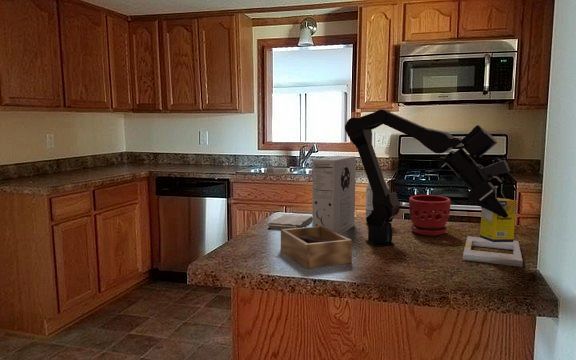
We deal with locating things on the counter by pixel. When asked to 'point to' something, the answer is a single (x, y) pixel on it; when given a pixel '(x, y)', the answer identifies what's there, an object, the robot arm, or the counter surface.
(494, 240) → the supplement box
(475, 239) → the plate
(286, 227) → the washcloth
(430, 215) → the plant pot
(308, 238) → the brick
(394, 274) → the counter surface
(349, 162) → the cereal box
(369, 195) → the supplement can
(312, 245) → the oak box
